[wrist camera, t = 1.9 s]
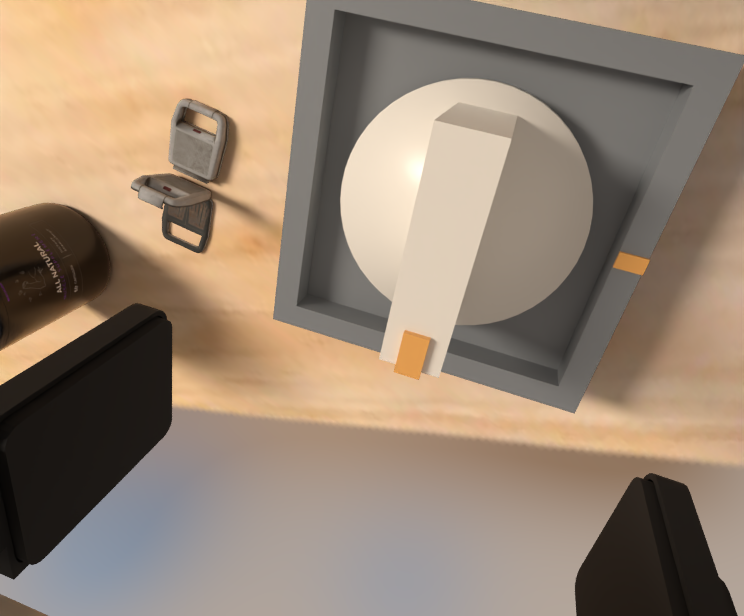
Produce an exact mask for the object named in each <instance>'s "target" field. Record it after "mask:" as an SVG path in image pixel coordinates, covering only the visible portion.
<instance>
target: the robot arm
mask: <svg viewBox="0 0 744 616" xmlns="http://www.w3.org/2000/svg"><path fill="white" fill-rule="evenodd" d="M171 422H172V324H171V322H170V321H168V320H167V316H166V314H165V313H164V312H163V311H161V310H158V309H154V308H151V307H148V306H145V305H142V304H138V303H135V304H133V305H131V306H129V307H128V308H126V309H124V310H123V311H121V312H119V313H118V314H116V315H115V316H113V317H111V318H110V319H108V320H106V321H105V322H103V323H101V324H100V325H98V326H97V327H95V328H93V329H92V330H90V331H88V332H87V333H85V334H84V335H82V336H80V337H79V338H77V339H75V340H74V341H72V342H70V343H69V344H67V345H66V346H64V347H62V348H61V349H59V350H57V351H56V352H54V353H53V354H51V355H49V356H48V357H46V358H44V359H43V360H41V361H39V362H38V363H36V364H35V365H33V366H31V367H30V368H28V369H26V370H25V371H23V372H22V373H20V374H18V375H17V376H15V377H13V378H12V379H10V380H8V381H7V382H5V383H4V384H2V385H0V574H3V575H5V576H7V577H9V578H11V579H15V578H16V577H17V576H18V575H19V574H20V573H21V572H22V571H23V570H24V569H25V568H26V567H27V566H28V565H29V564H31V565H34V564H37V563H38V562H40V561H42V559H44V558H45V557H46V556H47V555H48V554H49V553H50V552H51V551H52V550H53V549H54V548H55V547H56V546H57V545H58V544H59V543H60V542H61V541H62V540H63V539H64V538H65V537H66V536H67V534H68V533H70V532H71V531H72V530H73V529H74V527H75V526H76V525H77V524H78V523H79V522H80V521H81V520H82V519H83V518H84V517H85V516H86V515H87V514H88V513H89V512H90V511H91V510H92V509H93V508H94V507H95V506H96V505H97V504H98V503H99V502H100V501H101V500H102V499H103V498H104V497H105V496H106V495H107V494H108V493H109V492H110V491H111V490H112V489H113V488H114V487H115V486H116V485H117V484H118V483H119V482H120V481H121V480H122V479H123V478H124V477H125V476H126V475H127V474H128V473H129V472H130V471H131V470H132V468H134V466H135V465H137V464H138V462H139V461H140V460H141V459H142V458H143V457H144V456H145V455H146V454H147V453H148V452H149V451H150V450H151V449H152V448H153V447H154V446H155V445H156V444H157V443H158V442H159V441H160V440H161V439H162V438H163V437H164V436H165V435H166V433H167V431H168V430H169V427H170V425H171ZM575 599H576V613H577V616H738V615H737V613H736V610H735V607H734V604H733V601H732V598H731V596H730V593H729V591H728V589H727V587H726V585H725V583H724V582H723V581H722V580H721V579H720V578H719V577H718V573H717V570H716V567H715V564H714V562H713V559H712V556H711V553H710V550H709V547H708V544H707V541H706V538H705V535H704V532H703V530H702V527H701V524H700V521H699V518H698V515H697V512H696V509H695V506H694V503H693V500H692V497H691V494H690V492H689V489H688V487H687V486H686V485H684V484H683V483H680V482H677V481H674V480H671V479H668V478H665V477H662V476H659V475H656V474H653V473H649V474H648V475H646V476H645V477H644V479H642V478H639V477H636V478H634V479H633V480H632V482H631V483H630V485H629V486H628V488H627V490H626V491H625V493H624V495H623V497H622V498H621V500H620V502H619V503H618V505H617V507H616V508H615V510H614V512H613V513H612V515H611V517H610V518H609V520H608V522H607V524H606V525H605V527H604V528H603V530H602V532H601V534H600V535H599V537H598V539H597V540H596V542H595V544H594V545H593V547H592V549H591V551H590V552H589V554H588V555H587V557H586V559H585V561H584V562H583V564H582V566H581V567H580V569H579V571H578V574H577V578H576V583H575ZM0 616H47V615H46V614H43V613H41V612H39V611H37V610H34V609H32V608H30V607H28V606H25V605H23V604H21V603H19V602H16V601H14V600H12V599H10V598H8V597H6V596H3V595H1V594H0Z"/></svg>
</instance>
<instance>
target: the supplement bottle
mask: <svg viewBox="0 0 744 616" xmlns="http://www.w3.org/2000/svg"><path fill="white" fill-rule="evenodd" d="M109 276H110V260H109V255H108V252H107V249H106V246H105V244H104V242H103V240H102V238H101V237H100V235H99V233H98V232H97V231H96V229H95V228H94V227H93V226H92V225H91V223H90V222H89V221H87V220H86V219H85V218H84V217H83V216H82V215H80V214H79V213H77V212H76V211H74V210H72V209H70V208H68V207H66V206H63V205H60V204H55V203H41V204H36V205H32V206H29V207H25V208H21V209H18V210H14V211H11V212H8V213H4V214H1V215H0V351H1V350H3V349H5V348H6V347H8V346H10V345H12V344H14V343H15V342H17V341H19V340H21V339H23V338H25V337H26V336H28V335H30V334H32V333H34V332H36V331H37V330H39V329H41V328H43V327H45V326H47V325H48V324H50V323H52V322H54V321H56V320H57V319H59V318H61V317H63V316H65V315H67V314H68V313H70V312H72V311H74V310H76V309H78V308H79V307H81V306H83V305H85V304H86V303H88V302H90V301H92V300H93V299H95V298H96V297H98V296H99V295H100V294H101V293H102V292H103V291H104V289H105V288H106V286H107V283H108V281H109Z"/></svg>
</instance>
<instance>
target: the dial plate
mask: <svg viewBox="0 0 744 616" xmlns="http://www.w3.org/2000/svg"><path fill="white" fill-rule="evenodd" d="M743 64H744V55H740V54H735V53H731V52H726V51H721V50H716V49H711V48H706V47H701V46H696V45H691V44H686V43H681V42H676V41H671V40H666V39H661V38H656V37H651V36H646V35H641V34H636V33H631V32H626V31H621V30H616V29H611V28H606V27H601V26H596V25H591V24H586V23H581V22H576V21H571V20H566V19H561V18H556V17H551V16H546V15H541V14H536V13H531V12H527V11H522V10H517V9H512V8H507V7H502V6H497V5H492V4H487V3H482V2H477V1H472V0H307V2H306V11H305V21H304V30H303V40H302V49H301V59H300V68H299V78H298V87H297V97H296V106H295V116H294V125H293V135H292V144H291V154H290V163H289V173H288V182H287V192H286V201H285V211H284V220H283V230H282V239H281V249H280V259H279V268H278V278H277V287H276V297H275V306H274V316H273V319H275V320H278V321H281V322H285V323H288V324H291V325H294V326H297V327H300V328H304V329H307V330H310V331H313V332H316V333H320V334H323V335H326V336H329V337H332V338H336V339H339V340H342V341H345V342H348V343H352V344H355V345H358V346H361V347H364V348H367V349H371V350H374V351H377V352H380V353H381V348H382V344H383V340H384V335H385V331H386V327H387V322H388V318H389V314H390V309H391V305H392V301H390V300H389V299H388V298H387V297H386V296H384V295H383V294H382V293H381V292H380V291H379V290H378V289H377V288H376V287H375V286H374V285H373V284H372V283H371V282H370V281H369V280H368V278H367V277H366V276H365V274H364V273H363V272H362V270H361V269H360V267H359V266H358V264H357V262H356V261H355V259H354V257H353V255H352V253H351V250H350V248H349V246H348V243H347V240H346V237H345V233H344V230H343V224H342V218H341V204H340V197H341V186H342V180H343V176H344V171H345V167H346V165H347V162H348V159H349V157H350V154H351V152H352V150H353V148H354V146H355V144H356V142H357V140H358V139H359V137H360V136H361V134H362V133H363V132H364V130H365V129H366V127H367V126H368V125H369V124H370V123H371V122H372V120H373V119H374V118H375V117H376V116H377V115H378V114H379V113H380V112H381V111H383V110H384V109H385V108H386V107H388V106H389V105H390V104H391V103H393V102H394V101H396V100H397V99H399V98H401V97H402V96H404V95H406V94H407V93H410V92H412V91H414V90H416V89H419V88H421V87H423V86H426V85H429V84H433V83H436V82H440V81H443V80H450V79H457V78H483V79H490V80H496V81H500V82H503V83H506V84H510V85H513V86H516V87H518V88H520V89H522V90H524V91H526V92H528V93H530V94H532V95H533V96H535V97H536V98H538V99H539V100H541V101H543V102H544V103H545V104H546V105H548V106H549V107H550V108H551V109H552V110H553V111H554V112H555V113H557V114H558V115H559V117H560V118H561V119H562V120H563V121H564V123H565V124H566V125H567V126H568V127H569V129H570V130H571V132H572V134H573V135H574V137H575V139H576V140H577V142H578V144H579V146H580V148H581V151H582V153H583V155H584V158H585V160H586V163H587V166H588V170H589V174H590V178H591V182H592V192H593V215H592V221H591V226H590V232H589V235H588V238H587V241H586V244H585V247H584V249H583V251H582V253H581V255H580V257H579V259H578V261H577V263H576V265H575V266H574V268H573V269H572V271H571V272H570V274H569V275H568V277H567V278H566V279H565V280H564V281H563V282H562V283H561V284H560V286H559V287H558V288H557V289H556V290H555V291H553V292H552V293H551V294H550V295H549V296H548V297H547V298H545V299H544V300H543V301H541V302H540V303H538V304H537V305H535V306H534V307H532V308H530V309H528V310H526V311H524V312H522V313H521V314H519V315H516V316H513V317H511V318H508V319H505V320H502V321H497V322H493V323H489V324H480V325H455V326H454V330H453V333H452V336H451V339H450V343H449V346H448V349H447V353H446V356H445V359H444V362H443V366H442V369H441V372H444V373H447V374H450V375H454V376H457V377H460V378H463V379H466V380H470V381H473V382H476V383H479V384H482V385H486V386H489V387H492V388H495V389H498V390H501V391H505V392H508V393H511V394H514V395H517V396H521V397H524V398H527V399H530V400H533V401H537V402H540V403H543V404H546V405H549V406H553V407H556V408H559V409H562V410H565V411H569V412H572V413H575V412H576V409H577V407H578V405H579V403H580V401H581V399H582V397H583V395H584V393H585V391H586V389H587V387H588V385H589V383H590V381H591V378H592V376H593V374H594V372H595V370H596V368H597V366H598V364H599V362H600V360H601V358H602V356H603V354H604V352H605V350H606V347H607V345H608V343H609V341H610V339H611V337H612V335H613V333H614V331H615V329H616V327H617V325H618V323H619V321H620V319H621V316H622V314H623V312H624V310H625V308H626V306H627V304H628V302H629V300H630V298H631V296H632V294H633V292H634V290H635V288H636V285H637V283H638V281H639V279H640V277H641V275H643V274H644V272H645V270H646V268H647V266H648V264H649V261H650V256H651V254H652V252H653V250H654V248H655V246H656V244H657V242H658V240H659V238H660V236H661V234H662V232H663V230H664V228H665V225H666V223H667V221H668V219H669V217H670V215H671V213H672V211H673V209H674V207H675V205H676V203H677V201H678V199H679V197H680V194H681V192H682V190H683V188H684V186H685V184H686V182H687V180H688V178H689V176H690V174H691V172H692V170H693V168H694V166H695V163H696V161H697V159H698V157H699V155H700V153H701V151H702V149H703V147H704V145H705V143H706V141H707V139H708V137H709V135H710V132H711V130H712V128H713V126H714V124H715V122H716V120H717V118H718V116H719V114H720V112H721V110H722V108H723V106H724V104H725V101H726V99H727V97H728V95H729V93H730V91H731V89H732V87H733V85H734V83H735V81H736V79H737V77H738V75H739V73H740V70H741V68H742V66H743Z"/></svg>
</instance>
